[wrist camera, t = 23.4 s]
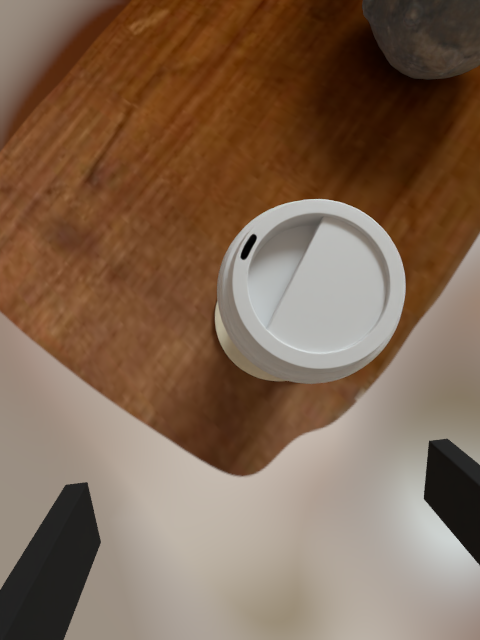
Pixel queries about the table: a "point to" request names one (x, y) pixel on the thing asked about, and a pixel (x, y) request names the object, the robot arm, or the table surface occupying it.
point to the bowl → (427, 35)
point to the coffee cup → (311, 290)
